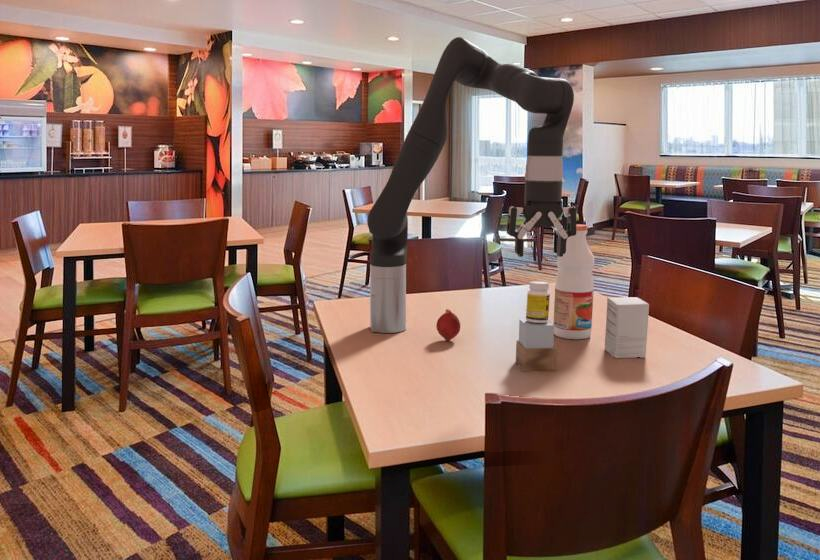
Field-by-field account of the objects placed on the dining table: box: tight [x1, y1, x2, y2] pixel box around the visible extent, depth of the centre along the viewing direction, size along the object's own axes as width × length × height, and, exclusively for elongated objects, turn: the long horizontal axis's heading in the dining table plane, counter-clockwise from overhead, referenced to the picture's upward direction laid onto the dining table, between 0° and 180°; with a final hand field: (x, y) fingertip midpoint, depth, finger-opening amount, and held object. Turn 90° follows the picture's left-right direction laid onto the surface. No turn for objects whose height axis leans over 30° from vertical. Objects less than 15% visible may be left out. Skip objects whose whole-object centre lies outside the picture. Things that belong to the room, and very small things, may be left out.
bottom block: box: [515, 339, 558, 373], centre depth 145 cm, size 7×7×5 cm
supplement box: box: [604, 296, 650, 359], centre depth 153 cm, size 7×7×13 cm
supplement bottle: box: [525, 281, 551, 323], centre depth 143 cm, size 5×5×8 cm
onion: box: [435, 308, 461, 342], centre depth 164 cm, size 6×6×8 cm
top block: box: [518, 318, 555, 349], centre depth 144 cm, size 6×6×5 cm
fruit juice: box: [552, 223, 596, 340], centre depth 167 cm, size 9×9×28 cm
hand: (540, 256), depth 141 cm, fingers open, 8 cm apart
